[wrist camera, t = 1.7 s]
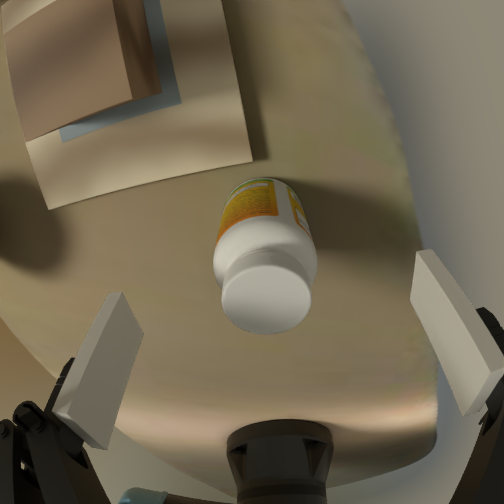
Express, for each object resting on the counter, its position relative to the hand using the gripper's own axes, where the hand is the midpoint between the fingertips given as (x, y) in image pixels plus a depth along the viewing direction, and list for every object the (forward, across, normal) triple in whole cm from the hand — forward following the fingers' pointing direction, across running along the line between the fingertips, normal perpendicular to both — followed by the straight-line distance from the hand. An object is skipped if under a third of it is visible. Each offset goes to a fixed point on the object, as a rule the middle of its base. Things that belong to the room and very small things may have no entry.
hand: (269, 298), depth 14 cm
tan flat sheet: (+10, +8, -12) cm, 18 cm away
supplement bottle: (+10, 0, 0) cm, 10 cm away
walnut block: (+9, +8, -12) cm, 17 cm away
